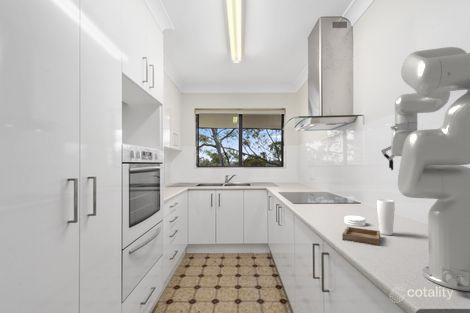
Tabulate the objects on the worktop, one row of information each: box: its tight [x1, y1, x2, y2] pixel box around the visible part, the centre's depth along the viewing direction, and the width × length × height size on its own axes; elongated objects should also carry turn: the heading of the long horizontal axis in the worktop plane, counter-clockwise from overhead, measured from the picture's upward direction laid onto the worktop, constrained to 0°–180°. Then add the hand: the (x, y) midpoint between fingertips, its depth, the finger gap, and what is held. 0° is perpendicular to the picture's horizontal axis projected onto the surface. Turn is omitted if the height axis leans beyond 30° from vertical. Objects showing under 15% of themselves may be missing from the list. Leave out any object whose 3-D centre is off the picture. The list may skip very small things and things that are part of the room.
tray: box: [341, 226, 381, 247], centre depth 102 cm, size 13×13×2 cm
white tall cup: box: [376, 198, 396, 236], centre depth 109 cm, size 7×7×15 cm
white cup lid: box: [344, 215, 367, 227], centre depth 126 cm, size 10×10×4 cm
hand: (406, 170), depth 99 cm, fingers open, 9 cm apart
